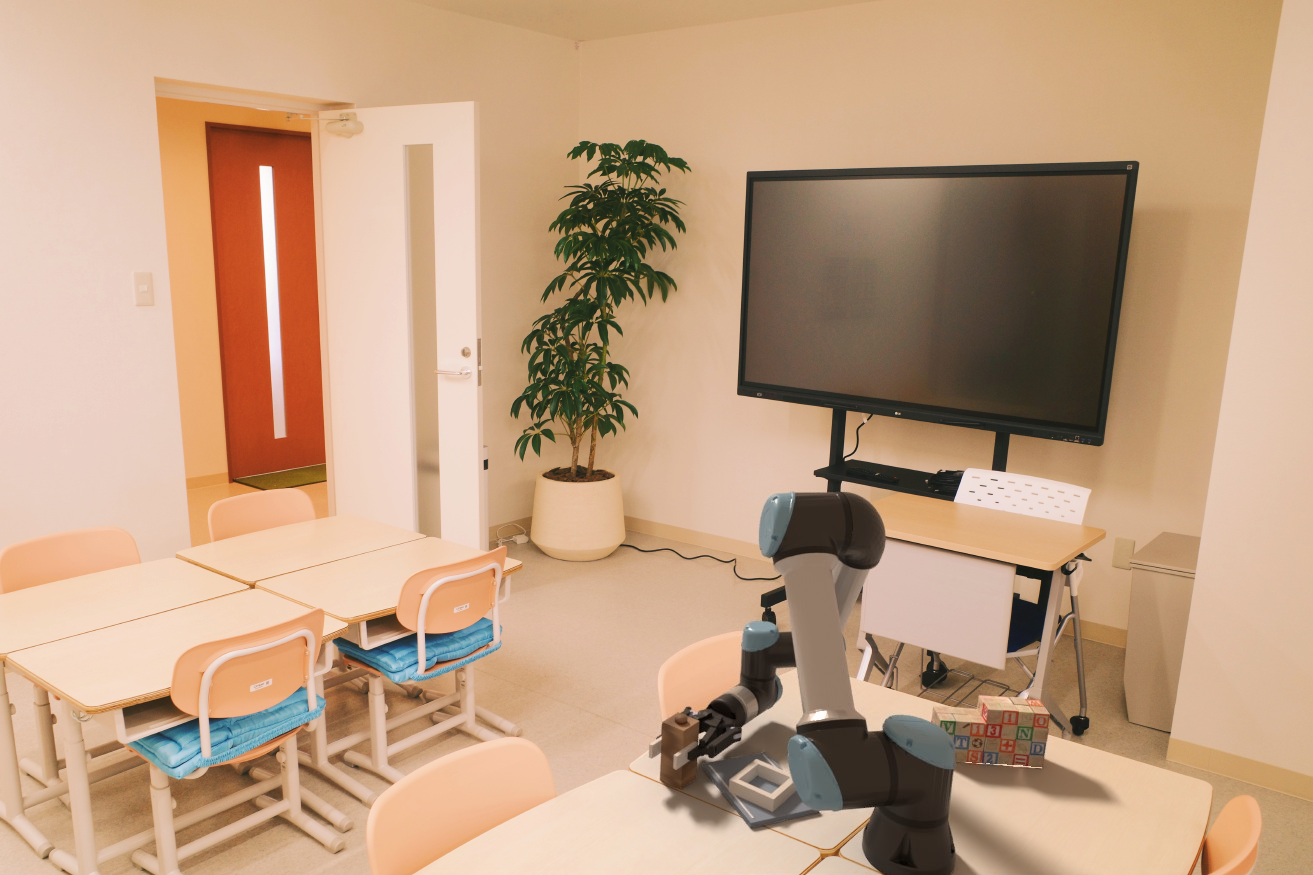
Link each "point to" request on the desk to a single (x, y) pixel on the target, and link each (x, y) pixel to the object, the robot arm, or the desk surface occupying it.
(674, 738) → the pillar
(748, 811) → the board
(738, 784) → the socket collar
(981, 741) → the stack of blocks
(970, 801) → the desk surface
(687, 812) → the desk surface
